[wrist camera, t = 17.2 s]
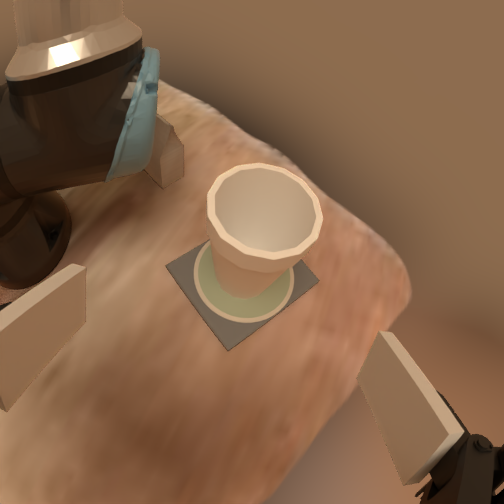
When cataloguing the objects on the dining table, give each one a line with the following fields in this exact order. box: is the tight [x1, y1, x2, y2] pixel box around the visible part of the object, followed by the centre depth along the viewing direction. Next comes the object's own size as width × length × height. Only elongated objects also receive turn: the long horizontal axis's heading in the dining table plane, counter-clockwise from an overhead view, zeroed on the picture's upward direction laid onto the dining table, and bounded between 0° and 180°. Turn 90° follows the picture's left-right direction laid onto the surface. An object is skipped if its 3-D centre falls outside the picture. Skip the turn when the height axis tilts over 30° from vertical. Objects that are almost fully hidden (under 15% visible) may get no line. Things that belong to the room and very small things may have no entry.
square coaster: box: [166, 239, 319, 351], centre depth 36 cm, size 12×14×1 cm
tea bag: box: [144, 113, 184, 189], centre depth 37 cm, size 4×7×10 cm, turn 45°
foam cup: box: [206, 163, 323, 299], centre depth 30 cm, size 10×9×13 cm
